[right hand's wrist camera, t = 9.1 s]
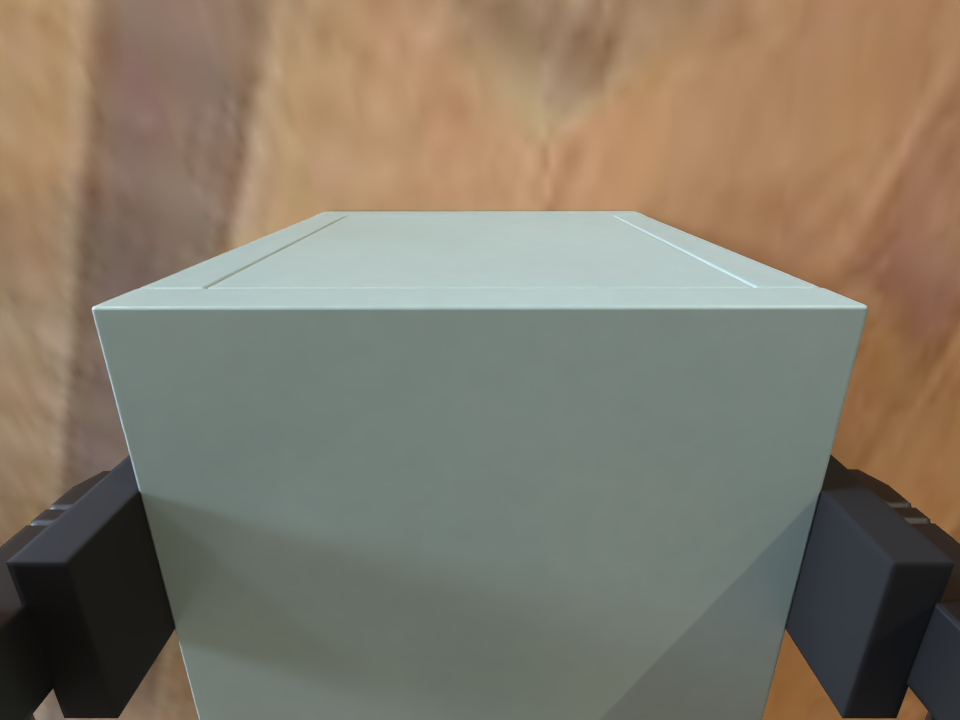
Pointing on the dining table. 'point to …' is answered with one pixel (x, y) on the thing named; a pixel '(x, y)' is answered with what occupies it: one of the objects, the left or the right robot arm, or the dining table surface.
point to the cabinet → (480, 465)
